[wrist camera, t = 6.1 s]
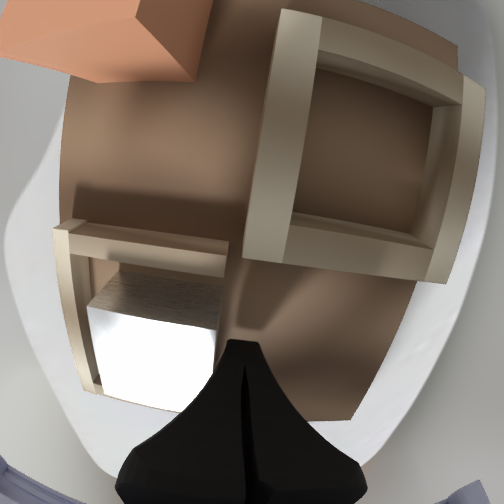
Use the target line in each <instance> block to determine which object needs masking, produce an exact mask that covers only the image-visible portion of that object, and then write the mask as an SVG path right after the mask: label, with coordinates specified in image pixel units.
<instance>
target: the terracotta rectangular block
mask: <svg viewBox="0 0 504 504" xmlns="http://www.w3.org/2000/svg"><path fill="white" fill-rule="evenodd" d="M212 3H213V0H8V1H7V3H6V6H5V8H4V11H3V13H2V16H1V19H0V57H2V58H7V59H11V60H16V61H21V62H25V63H29V64H34V65H37V66H41V67H45V68H49V69H53V70H56V71H60V72H63V73H67V74H70V75H73V76H77V77H80V78H83V79H86V80H89V81H92V82H95V83H109V82H131V81H174V82H196V78H197V72H198V67H199V62H200V57H201V52H202V47H203V42H204V37H205V33H206V28H207V24H208V20H209V15H210V11H211V7H212Z"/></svg>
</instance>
